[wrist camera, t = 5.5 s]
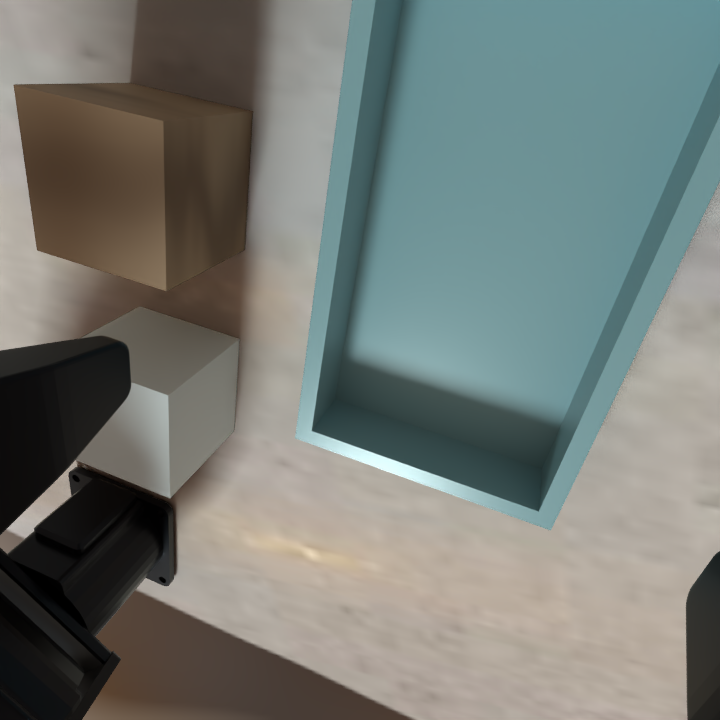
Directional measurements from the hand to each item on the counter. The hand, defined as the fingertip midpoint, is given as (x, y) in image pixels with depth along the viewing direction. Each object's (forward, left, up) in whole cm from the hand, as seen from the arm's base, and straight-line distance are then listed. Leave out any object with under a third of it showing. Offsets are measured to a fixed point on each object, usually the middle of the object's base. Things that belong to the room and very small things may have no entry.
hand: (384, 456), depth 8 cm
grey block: (-9, +12, -12) cm, 19 cm away
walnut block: (0, +12, -12) cm, 17 cm away
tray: (0, 0, -12) cm, 12 cm away
